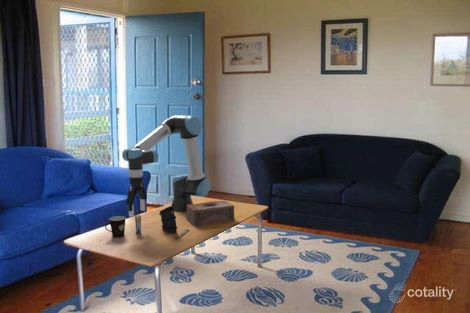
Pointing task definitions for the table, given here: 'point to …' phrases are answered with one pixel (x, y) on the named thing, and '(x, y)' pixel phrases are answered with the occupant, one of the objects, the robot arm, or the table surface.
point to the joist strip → (181, 234)
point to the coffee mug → (117, 226)
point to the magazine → (168, 220)
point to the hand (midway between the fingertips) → (137, 213)
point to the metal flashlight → (138, 224)
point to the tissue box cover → (210, 213)
